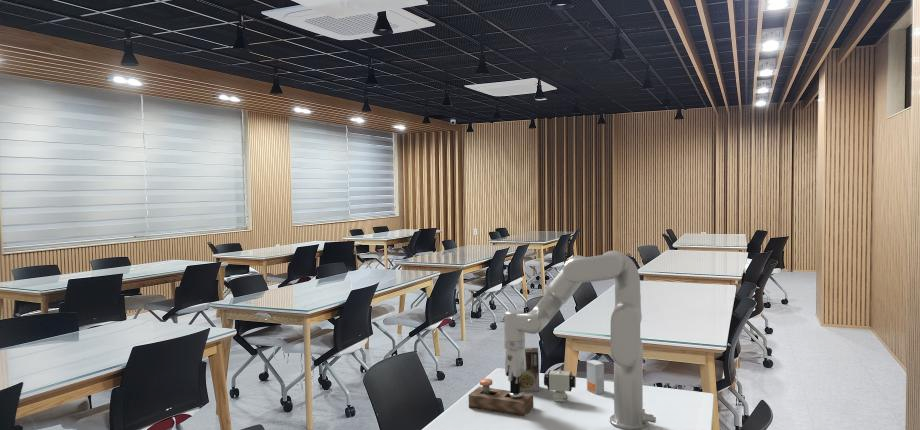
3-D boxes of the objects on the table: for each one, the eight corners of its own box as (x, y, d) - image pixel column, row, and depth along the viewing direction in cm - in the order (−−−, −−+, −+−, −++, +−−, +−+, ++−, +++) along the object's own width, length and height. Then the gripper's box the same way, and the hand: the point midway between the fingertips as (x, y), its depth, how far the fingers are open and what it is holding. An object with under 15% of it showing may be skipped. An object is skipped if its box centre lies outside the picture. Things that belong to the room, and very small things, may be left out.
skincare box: (586, 390, 243) (586, 360, 242) (595, 388, 245) (594, 359, 244) (595, 394, 237) (595, 364, 237) (604, 392, 239) (604, 363, 239)
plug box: (533, 407, 225) (533, 394, 225) (524, 416, 216) (523, 403, 216) (479, 399, 235) (479, 386, 235) (468, 407, 226) (468, 394, 226)
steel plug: (524, 405, 224) (524, 391, 224) (519, 410, 220) (519, 395, 220) (512, 403, 226) (512, 390, 226) (507, 408, 222) (507, 394, 222)
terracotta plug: (494, 393, 229) (494, 379, 229) (489, 397, 225) (489, 383, 225) (483, 391, 231) (482, 377, 231) (477, 395, 227) (477, 381, 227)
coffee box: (539, 386, 249) (538, 347, 248) (539, 391, 243) (538, 351, 242) (516, 385, 250) (516, 347, 249) (516, 391, 244) (516, 351, 243)
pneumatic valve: (575, 404, 228) (574, 372, 227) (544, 401, 231) (543, 370, 231) (576, 399, 233) (576, 368, 233) (546, 396, 236) (545, 366, 236)
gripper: (517, 350, 214) (517, 401, 215) (531, 340, 227) (531, 388, 228) (497, 347, 217) (497, 398, 218) (512, 338, 230) (513, 385, 231)
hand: (515, 392), depth 223 cm, fingers closed
